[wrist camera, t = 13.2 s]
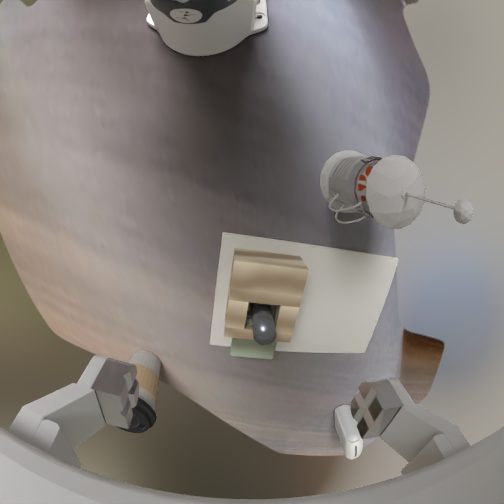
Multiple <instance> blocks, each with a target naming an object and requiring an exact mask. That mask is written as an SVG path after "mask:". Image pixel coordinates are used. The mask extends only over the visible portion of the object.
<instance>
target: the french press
mask: <svg viewBox="0 0 504 504" xmlns="http://www.w3.org/2000/svg"><path fill="white" fill-rule="evenodd" d="M367 157H368V158H367ZM371 157H372V156H364V155H363V154H361V153H359V152H357V151H351V150H343V151H341V152H338V153H335V154H333V155H332V156H331V157H330V158H329V159H328V160H327V161H326V162H325V164H324V167H323V169H322V171H321V175H320V187H321V190H322V193H323V196H324V199H325V200H326V201H327V202H328V203H329V206H328V207H329V209H330V210H332V211H334V212H336V214H335V220H336V221H337V222H339V223H341V224H348V223H353V222H358V221H361V220H363V219H365V218H367V217H374V218H375V219H376V220H377V222H378V223H380V224H382V225H383V226H385V227H387V228H388V229H401V228H403V227H405V226H407V225H409V224H411V223H412V222H413V220H415V218H416V217H417V216H418V215H419V213H420V211H421V209H422V206H423V204H424V201H427V202H431V203H434V204H438V205H441V206H444V207H448V208H451V209H454V217H455V219H456V221H457V222H459V223H462V224H466V223H467V222H469V221H470V220H471V218H472V215H473V212H474V211H473V207H472V204H471V203H470V202H469V201H467V200H464V199H460V200H458V201H457V203H456V204H455V206H454V207H453V206H450V205H446V204H443V203H440V202H436V201H432V200H429V199H425V185H424V180H423V177H422V174H421V172H420V171H419V169H418V168H417V166H416V165H415V164H414V163H413V162H412V161H411V160H409V159H408V158H406V157H404V156H398V155H391V156H388V157H385V158H380V157H372V158H371ZM369 158H370V159H372V160H370V159H369ZM373 158H374V159H373ZM369 160H370V161H369ZM331 207H332V208H334V209H332V208H331ZM335 209H336V210H335ZM340 211H341V212H343V213H355V212H358V213H360V214H363V215H365V214H366V215H365V216H364V217H362V218H360V219H357V220H353V221H348V222H341V221H339V220H338V219H337V214H338V212H340ZM361 212H363V213H361Z"/></svg>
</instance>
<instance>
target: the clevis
mask: <svg viewBox="0 0 504 504" xmlns="http://www.w3.org/2000/svg"><path fill="white" fill-rule="evenodd" d="M308 272H309V269H308V268H307V266H306V265H305V263H304V261H303V260H302V258H301V257H300V256H293V255H285V254H278V253H270V252H263V251H255V250H248V249H240V248H234V255H233V262H232V269H231V276H230V283H229V290H228V298H227V305H226V313H225V328H224V337H231V338H232V341H231V347H230V356H238V357H249V358H262V359H273V356H274V352H275V348H276V344H277V342H289V343H290V341H291V337H292V334H293V330H294V327H295V323H296V319H297V315H298V312H299V308H300V304H301V300H302V296H303V292H304V288H305V284H306V280H307V276H308ZM249 302H251V303H260V304H270V305H272V308H271V311H272V315H273V320H274V324H275V328H276V333H277V337H276V339H275V341H274V342H273V343H271V344H269V345H260V344H258V343H256V342H255V340H254V338H253V328H252V318H251V311H247V310H248V304H249Z"/></svg>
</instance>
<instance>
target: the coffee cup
mask: <svg viewBox="0 0 504 504" xmlns="http://www.w3.org/2000/svg"><path fill="white" fill-rule="evenodd" d="M128 363H130V364H134V365H136V368H137V375H136V380H137V381H138V382H139V396H138V401H137V404H136V406H135V407H134V408H132V413H133V417H132V420H131V423H130V426H129V429H126V428H122V427H118V426H116V427H118V428H120V429H122V430H125V431H128V432H133V433H142V432H145V431H146V430H148V428H151V427H152V426H153V425H154V423H155V421H156V414H155V412H154V409H155V407H156V401H157V393H158V386H159V374H160V367H161V362H160V360H159V358H158V357H157V356H156V355H154V354H153V353H151V352H149V351H146V350H138V351H136V352H135V353H134V354H133V356H132V357H131V359H130V360H129V362H128Z"/></svg>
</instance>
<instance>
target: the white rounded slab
mask: <svg viewBox="0 0 504 504" xmlns="http://www.w3.org/2000/svg"><path fill="white" fill-rule="evenodd" d="M334 419H335V428H336V431H337V434H338V437H339V440H340V442H341V445H342V448H343V451H344V454H345V456H346V457H347V458H348V459H354V458H357V457H358V456H359V455H360V454H361V452H362V448H363V439H361V436H360V434H359V431H358V429H357V422H356V420H355V419H353V417H352V414H351V408H350V406H349V405H341V406H339V407H337V408H336V409H335V411H334Z"/></svg>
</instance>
